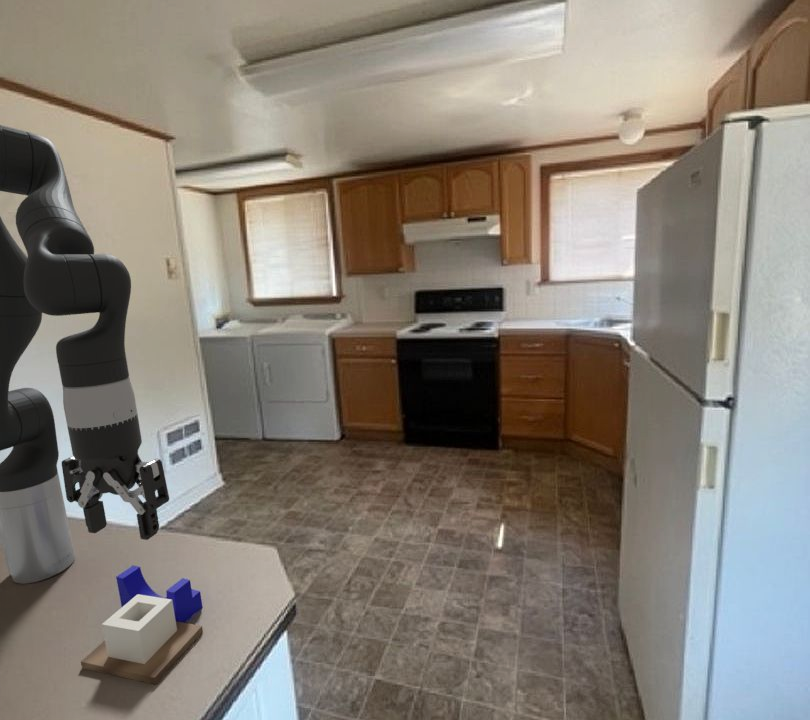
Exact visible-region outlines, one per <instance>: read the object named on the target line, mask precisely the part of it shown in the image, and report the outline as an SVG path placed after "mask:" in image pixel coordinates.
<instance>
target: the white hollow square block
mask: <svg viewBox="0 0 810 720" xmlns="http://www.w3.org/2000/svg"><path fill="white" fill-rule="evenodd" d="M165 598H166V597H164V598H159V597H153V596H146V595H140V594H137V595H136V596H135V597H134V598H132V599H131V600H130V601H129V602H128V603H126V604H125V605H124V606H123V607H122V606H121V608H119V609H118V610H117V611H116V612H114V613H113V614H112V615H111V616H110V617H109V618H107V619H106V620H105V621H104V622H103V623H101V628H102V632H103V638H104V641H105V644H106V649H107V654H108V657H112V658H117V659H122V660H127V661H132V662H137V663H142V664H145V663H146V662H147V661H148V660H149V659H150V658H151V657H152V656H153V655H154V654H155V653H156V652H157V651H158V650H159V649H160V648H161V647H162V646H163V645H164V643H165V642H166V641H167V640H168V639H169V638H170V637H171V636H172V635H173V634H174V633H175V632H176V631H177V626H176V620H175V614H174V608H173V601H172V599H165ZM140 619H141V620H140ZM138 620H140V621H139V622H138Z"/></svg>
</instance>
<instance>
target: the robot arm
mask: <svg viewBox="0 0 810 720" xmlns="http://www.w3.org/2000/svg"><path fill="white" fill-rule="evenodd" d="M0 192H5V193H10V194H15V195H22V196H26V197H25V198H24V199H23V200H22V201H21V202H20V204H19V206H18V208H17V210H16V214H15V226H16V228H17V232H18V235H19V237H20V239H21V240H22V244H23V246H24V248H25V251H26V254H27V255H26V254H25V253H24V251H23V249H22V248H21V247H20V246H19V245H18V243H17V241H16V240H15V239H14V237H13V236H12V234H11V233H10V231H9V230H8V228H7V227H6V224H5V222H4V221H3V219H2V217H1V216H0V452H1V451H4V450H7V449H10V448H12V450H11V451H10V452H9V454H8V455H7V456H6V457H5V458H4V459H3V460H2V461H1V462H0V542H1V546H2V550H3V554H4V560H5V564H6V568H7V574H8V575H9V576H11V579H12V581H13V582H14V583H16V584H30V583H31V584H32V583H36V582H40V581H44V580H46V579H49V578H52V577H54V576H56V575H57V574H60V573H61V572H63V571H65V570H67V568H69V567H70V566H71V565H72V564H73V563H74V561H75V559H76V555H75V551H74V546H73V541H72V535H71V529H70V525H69V520H68V515H67V511H66V504H65V501H64V496H63V495H64V494H63V490H62V486H61V480H60V477H59V472H58V461H59V457H60V455H59V453H60V452H59V447H58V445H59V444H58V438H57V437H58V436H57V431H56V423H55V422H56V421H55V416H54V412H53V408H52V406H51V403H50V401H49V400H48V398H47V397H46V396H45V394H43V393H42V392H41V391H39V390H38V389H36V388H33V387H22V388H17V389H13V390H10V391H9V389H10V382H11V377H12V374H13V371H14V370H15V367H16V365H17V363H18V362H19V360H20V359H21V357H22V356H23V354H24V352H25V351H26V350H27V348H28V347H29V345H30V343H31V342H32V340H33V338H35V336H36V334H37V332H38V330H39V329H40V326H41V323H42V319H43V314H44V315H49V316H53V317H54V316H55V317H58V316H59V317H60V316H61V317H63V316H72V315H74V316H75V315H82V314H83V315H84V314H85V315H86V314H95V313H99V316H98V319H97V321H96V323H95V324H94V326H93V327H91V328H89V329H87V330H84V331H81V332H78V333H74V334H70V335H68V336H64V337H63V338H61V339H59V340H58V341H57V343H56V346H55V351H56V352H55V353H56V359H57V364H58V370H59V374H60V380H61V386H62V402H63V410H64V416H65V420H66V426H67V431H68V436H69V442H70V448H71V453H72V456H70V457H68V458H66V459H63V460H62V461H61V468H62V476H63V483H64V490H65V496H66V497H65V498H66V500H67V502H68V503H73V502H76V503H77V505H78V507H80V508H81V509H82V510H83V516H84V521H85V526H86V527H87V531H88V533H90V534H96V533H99V532H100V531H101V530H103V529H105V528H106V527H107V524H108V523H107V517H106V512H105V511H106V510H105V508H104V507H105V506H104V502H103V500H100V499H102V496H103V494H108V493H110V494H112V495H115V496H116V495H117V496H119V497H120V499H121V500H122V501H123V502H125V503H129V504H130V505H131V506H132V507H133V509H134V510H135V511H136V512H137V514H136V519H137V524H138V531H139V537H140V540H144V541H148V540H150V539H151V538H152V537H154V536H156V535H157V533H158V531H159V529H160V523H159V518H158V509H159V508H160V507H162V506H163V505H165V504H167V503H168V502H169V500H170V495H169V490H168V486H167V481H166V476H165V469H164V466H163V462H162V460H161V459H160V458H155V459H153V460H151V461H142V459H141V458H140V455H139V449H140V447H141V445H142V443H143V441H142V434H141V428H140V420H139V415H138V409H137V403H136V397H135V392H134V389H133V386H132V383H131V379H130V373H129V367H128V360H127V356H126V355H127V353H126V347H125V344H126V343H125V342H126V341H125V339H126V337H125V335H126V323H127V322H126V321H127V315H128V310H129V305H130V300H131V292H132V280H131V275H130V272H129V271H128V268H127V267H126V265H125V264H124V262H122V261H121V260H120V259H119V258H118V257H117V256H114V255H112V254H105V253H104V254H103V253H95V247H94V243H93V241H92V239H91V236H90V235H89V233H88V231H87V229H86V228H85V226H84V224H83V222H82V221H81V220H80V217H79V215H78V214H77V212H76V210H75V207H74V203H73V199H72V196H71V195H72V193H71V192H70V187H69V182H68V179H67V175H66V172H65V169H64V164H63V161H62V158H61V156H60V153H59V152H58V149H57V148H56V147H55V145H54V143H53V142H51V140H50V139H48V138H46V137H44V136H42V135H40V134H36V133H33V132H30V131H25V130H22V129H18V128H14V127H10V126H6V125H1V124H0ZM76 484H78V485H79V488H78V489H76ZM135 485H137V486H138V487H137V488H136V489H134V490H131V489H133V488H134V486H135ZM156 492H157V496H156ZM139 496H142V498H143V499H145V500H144V502H143V501H142V499H141V498H140V497H139Z"/></svg>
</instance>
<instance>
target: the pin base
mask: <svg viewBox="0 0 810 720" xmlns="http://www.w3.org/2000/svg"><path fill="white" fill-rule="evenodd" d="M140 620H141V619H140ZM140 620H138V622H139V621H140ZM176 626H177V631H176V632H175V633H174V634H173V635H172V636H171V637H170V638H169V639H168V640H167V641H166V642H165V643H164V645H163V646H162V647H161V648H160V649H159V650H158V651H157V652H156V653H155V654H154V655H153V656H152V657H151V658H150V659H149V660H148V661H147V662H146V663H145V664H142V663H137V662H132V661H127V660H122V659H117V658H112V657H108V654H107V649H106V644H105V640H104V641H102V642H101V643H100V644H98V646H97V647H95V648H94V649H93V650H92V651H91V652H90V653H88V655H87V656H86V657H84V658H83V659H81V660H80V665H81V669H84V670H88V671H94V672H97V673H103V674H108V675H111V676H116V677H120V678H125V679H130V680H133V681H138V682H142V681H143V683H147V684H150V685H151V684H153V685H157V684H158V682H160V680H161V679H162V678H163V677H164V676H165V674H167V673H168V671H169V670H170V669H171V668H172V667H173V666H174V665H175V664H176V663H177V662H178V660H179V659H180V658H181V657H182V656H183V655H184V654H185V652H187V650H188V649H189V648H190V647H191V646H192V645H193V644H194V643H195V641H196V640H197V639H198V638H199V637H200V635H202V633H203V625H201V624H199V625H198V624H193V623H187V622H185V623H183V622H177V621H176Z"/></svg>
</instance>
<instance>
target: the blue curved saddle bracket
mask: <svg viewBox="0 0 810 720" xmlns="http://www.w3.org/2000/svg"><path fill="white" fill-rule="evenodd" d="M115 579H116V583H117V587H118V588H117V589H118V594H119V599H120V604H121V608H122V607H123V606H124V605H125V604H126V603H128V602H129V601H130V600H131V599H132V598H134V597H135V596H136V595H137V594H140V595H146V596H153V597H159V598H165V599H172V601H173V608H174V614H175V620H176V621H177V622H183V623H187V622H188V621H189V620H190V619H191V618H192V617H194V616H195V615H196V614H197V613H198V612H199V611H200V610H201V609H203V602H202V594H201V590H197V589H193V588H192V585H191V579H188V578H183V577H182V578H180V579H179V580H178V581H177V582H175V583H174V584H173V585H172V586H171V587H169V588H168V589H166V591H165V592H166V596H165V597H164V596H161V595H159V593H156V591H154V590H153V589H152V587H150V585H149V584H148V583H147V581H146V579H145V578H144V575H143V572H142V569H141V567H140V566H138V565H134V564H133V565H132V566H130V567H128V568H127V569H125V570H124V571H123V572H121V573H120V574H118V575H116V576H115Z"/></svg>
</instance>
